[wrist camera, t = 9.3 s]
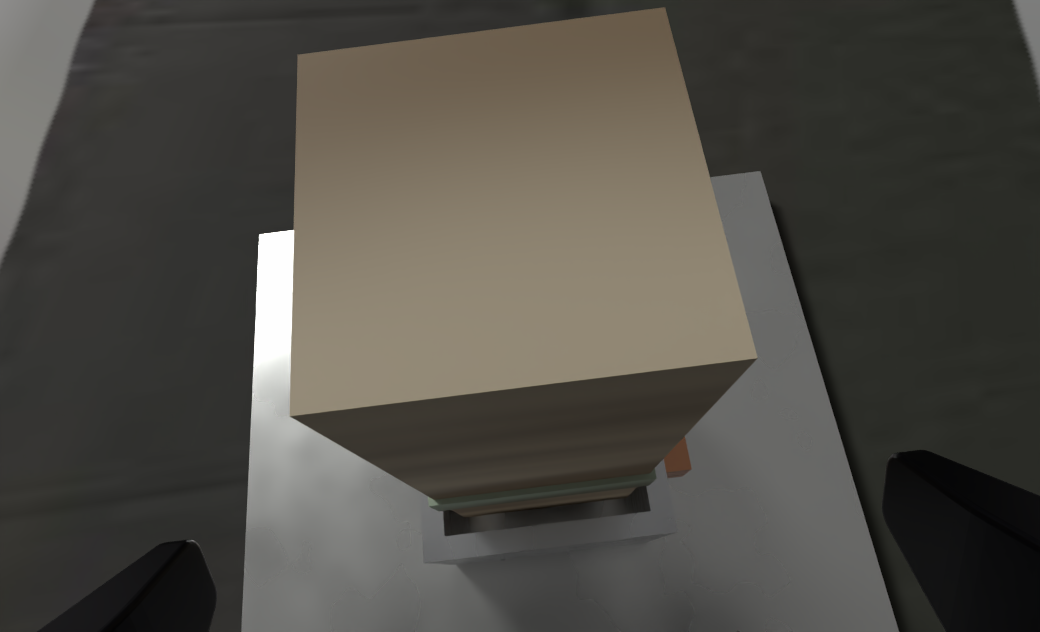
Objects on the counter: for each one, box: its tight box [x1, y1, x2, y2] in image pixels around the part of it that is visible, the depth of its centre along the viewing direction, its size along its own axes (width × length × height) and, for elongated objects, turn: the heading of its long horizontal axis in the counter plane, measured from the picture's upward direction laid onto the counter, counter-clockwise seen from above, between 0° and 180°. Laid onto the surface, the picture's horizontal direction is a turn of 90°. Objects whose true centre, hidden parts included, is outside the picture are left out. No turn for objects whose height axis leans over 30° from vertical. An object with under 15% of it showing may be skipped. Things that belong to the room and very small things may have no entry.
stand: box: [241, 171, 899, 632], centre depth 18 cm, size 18×18×6 cm
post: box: [290, 7, 758, 518], centre depth 11 cm, size 4×4×10 cm
